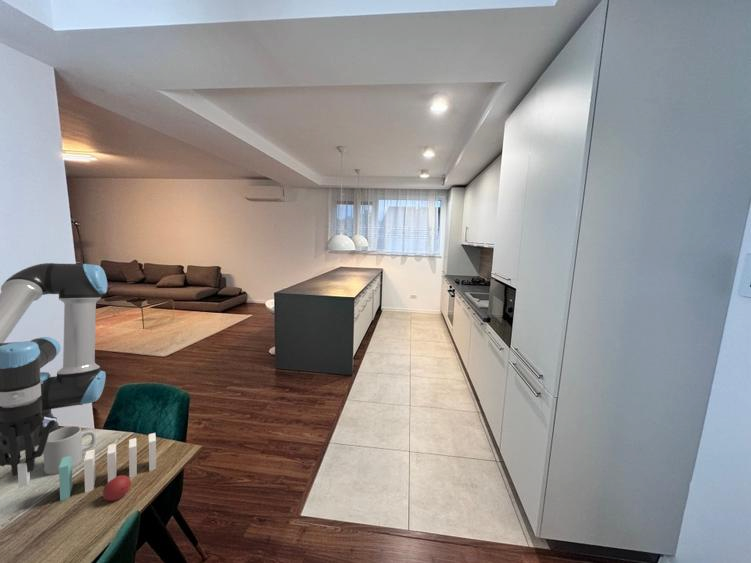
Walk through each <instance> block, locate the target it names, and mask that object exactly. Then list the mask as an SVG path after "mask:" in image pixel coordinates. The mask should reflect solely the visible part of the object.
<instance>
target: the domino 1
mask: <svg viewBox="0 0 751 563" xmlns="http://www.w3.org/2000/svg"><path fill="white" fill-rule="evenodd" d="M58 475H59V476H58V477H59V479H58V480H59V498H60V499H59V501H64V500H68V499H70V497H71V494H72V490H73V468H72V461H71V456H67V457H64V458H62V461H61V464H60V466H59V474H58Z"/></svg>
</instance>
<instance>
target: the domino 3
mask: <svg viewBox="0 0 751 563" xmlns="http://www.w3.org/2000/svg"><path fill="white" fill-rule="evenodd" d="M106 455H107V456H106V457H107V459H106V460H107V466H106V467H107V483H108V482H109V481H111V480H112V479H114V478H115V477H117V476H118V475H117V473H118V467H117V466H118V465H117V464H118V462H117V443H116V442H115V443H112V444H111V443H110V444H109V445H108V446H107V454H106Z"/></svg>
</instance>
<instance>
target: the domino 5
mask: <svg viewBox="0 0 751 563" xmlns="http://www.w3.org/2000/svg"><path fill="white" fill-rule="evenodd" d="M156 436H157V435H156V432H153V433H148V469H149V470H148V471H149V472H151V471H154V470H156V469H157V439H156V438H157V437H156Z"/></svg>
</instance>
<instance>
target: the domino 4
mask: <svg viewBox="0 0 751 563" xmlns="http://www.w3.org/2000/svg"><path fill="white" fill-rule="evenodd" d="M137 453H138V452H137V437H135V438H131V439H130V438H129V440H128V466H129V468H128V470H129V471H128V472H129V473H128V474H129V475H128V478H129V479H131V478H134V477H136V476H138V462H137V461H138V455H137Z"/></svg>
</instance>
